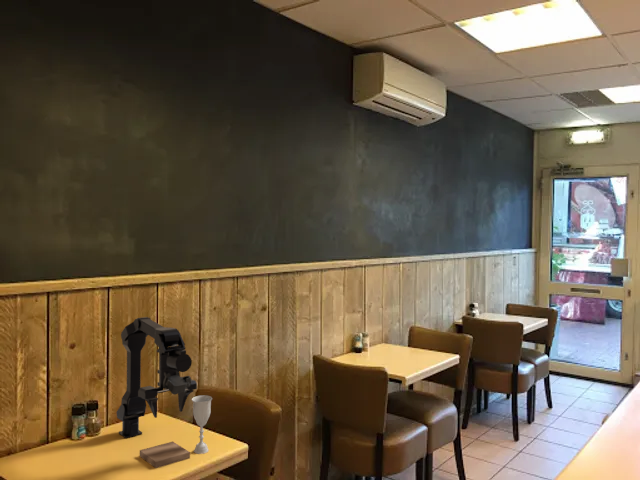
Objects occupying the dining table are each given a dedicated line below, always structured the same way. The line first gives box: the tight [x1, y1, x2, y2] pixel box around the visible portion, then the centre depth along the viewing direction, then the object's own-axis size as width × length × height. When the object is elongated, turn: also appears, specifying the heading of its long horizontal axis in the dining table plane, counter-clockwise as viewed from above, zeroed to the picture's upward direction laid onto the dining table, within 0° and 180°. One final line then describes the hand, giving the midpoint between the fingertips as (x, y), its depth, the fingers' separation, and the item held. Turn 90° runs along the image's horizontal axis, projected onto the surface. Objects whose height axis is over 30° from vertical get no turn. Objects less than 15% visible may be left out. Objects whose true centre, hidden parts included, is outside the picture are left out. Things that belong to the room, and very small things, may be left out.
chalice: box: [191, 394, 213, 455], centre depth 188 cm, size 7×7×18 cm
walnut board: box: [139, 441, 191, 469], centre depth 182 cm, size 12×12×2 cm
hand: (168, 414), depth 182 cm, fingers open, 9 cm apart
